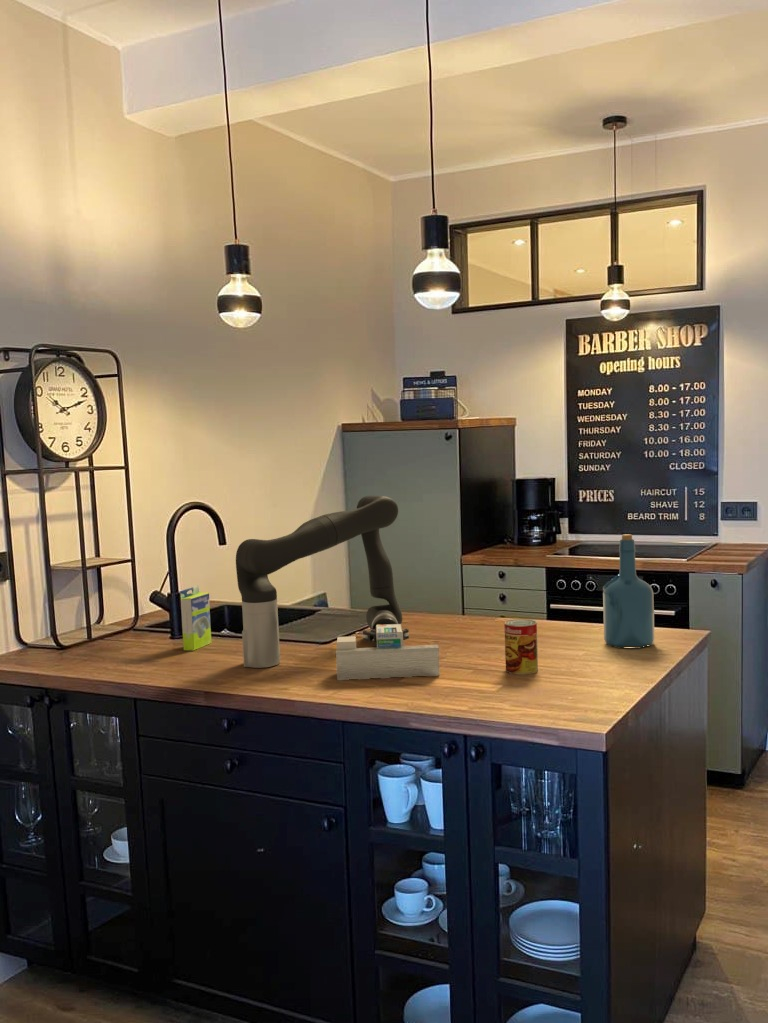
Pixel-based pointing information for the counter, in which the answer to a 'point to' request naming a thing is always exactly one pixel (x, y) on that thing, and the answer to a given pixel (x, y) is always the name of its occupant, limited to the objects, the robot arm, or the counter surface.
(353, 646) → the block
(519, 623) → the canned food
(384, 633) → the light bulb box
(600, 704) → the counter surface
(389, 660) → the rail
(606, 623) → the wine bottle
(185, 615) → the box
